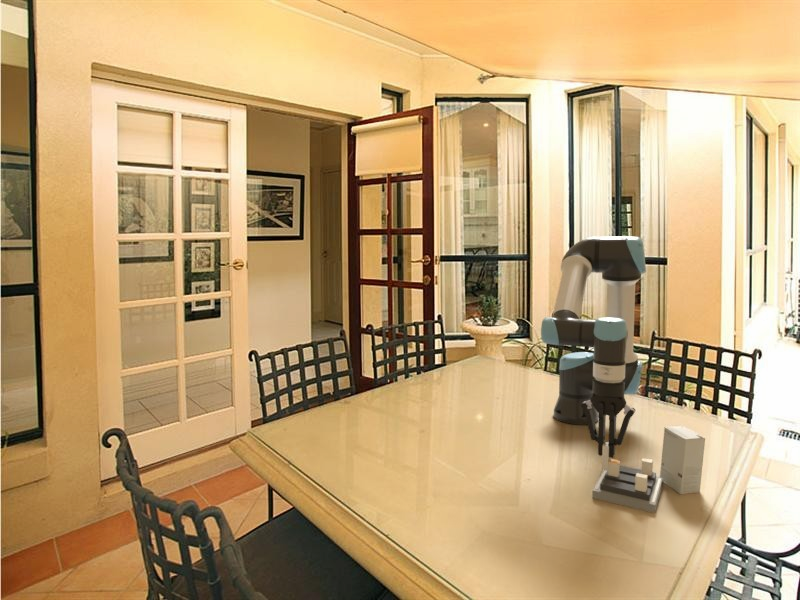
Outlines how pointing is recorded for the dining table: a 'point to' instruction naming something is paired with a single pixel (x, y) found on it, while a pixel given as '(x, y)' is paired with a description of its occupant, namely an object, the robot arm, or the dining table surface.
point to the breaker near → (641, 482)
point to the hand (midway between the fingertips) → (605, 468)
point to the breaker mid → (614, 467)
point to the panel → (628, 499)
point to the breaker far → (646, 466)
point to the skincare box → (682, 459)
